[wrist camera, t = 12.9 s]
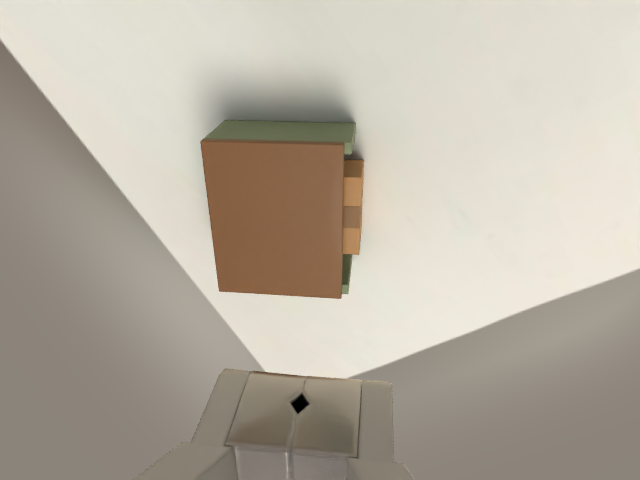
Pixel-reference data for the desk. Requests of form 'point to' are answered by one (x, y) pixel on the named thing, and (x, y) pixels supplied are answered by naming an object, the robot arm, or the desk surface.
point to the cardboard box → (352, 205)
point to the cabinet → (278, 206)
